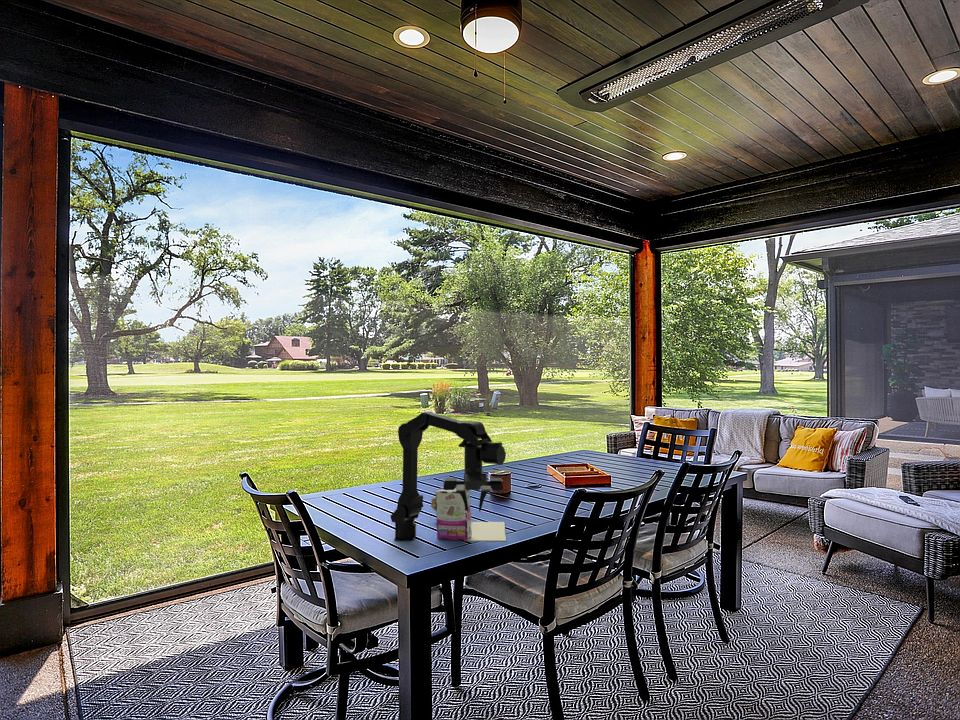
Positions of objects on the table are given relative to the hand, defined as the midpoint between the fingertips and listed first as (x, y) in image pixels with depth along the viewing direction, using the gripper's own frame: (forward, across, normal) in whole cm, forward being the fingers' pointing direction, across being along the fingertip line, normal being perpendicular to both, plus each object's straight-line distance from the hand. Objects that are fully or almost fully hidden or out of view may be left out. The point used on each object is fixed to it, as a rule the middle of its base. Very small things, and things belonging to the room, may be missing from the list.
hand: (473, 511), depth 181 cm
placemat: (+13, +4, +22) cm, 26 cm away
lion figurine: (+13, -10, +35) cm, 39 cm away
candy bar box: (+13, -7, +14) cm, 20 cm away
